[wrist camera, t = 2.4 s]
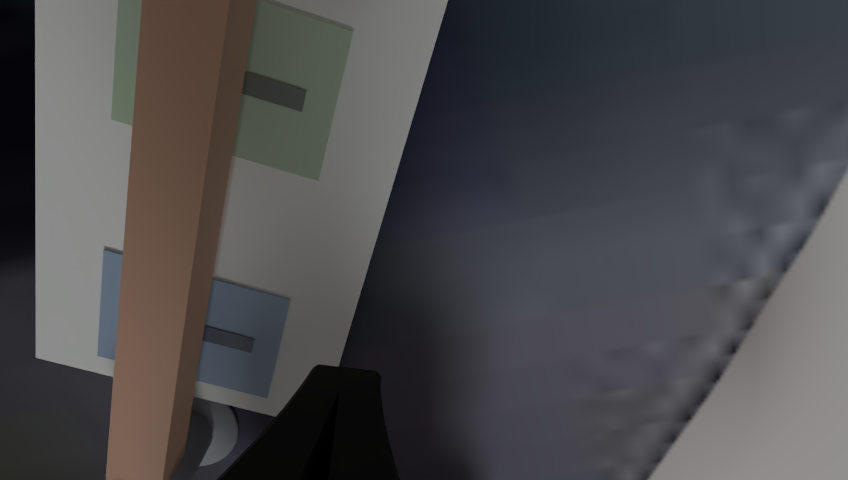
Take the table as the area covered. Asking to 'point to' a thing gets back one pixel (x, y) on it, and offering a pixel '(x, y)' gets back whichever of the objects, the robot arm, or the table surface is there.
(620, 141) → the table surface
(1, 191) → the table surface
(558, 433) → the table surface
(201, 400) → the label panel
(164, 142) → the swing bar
